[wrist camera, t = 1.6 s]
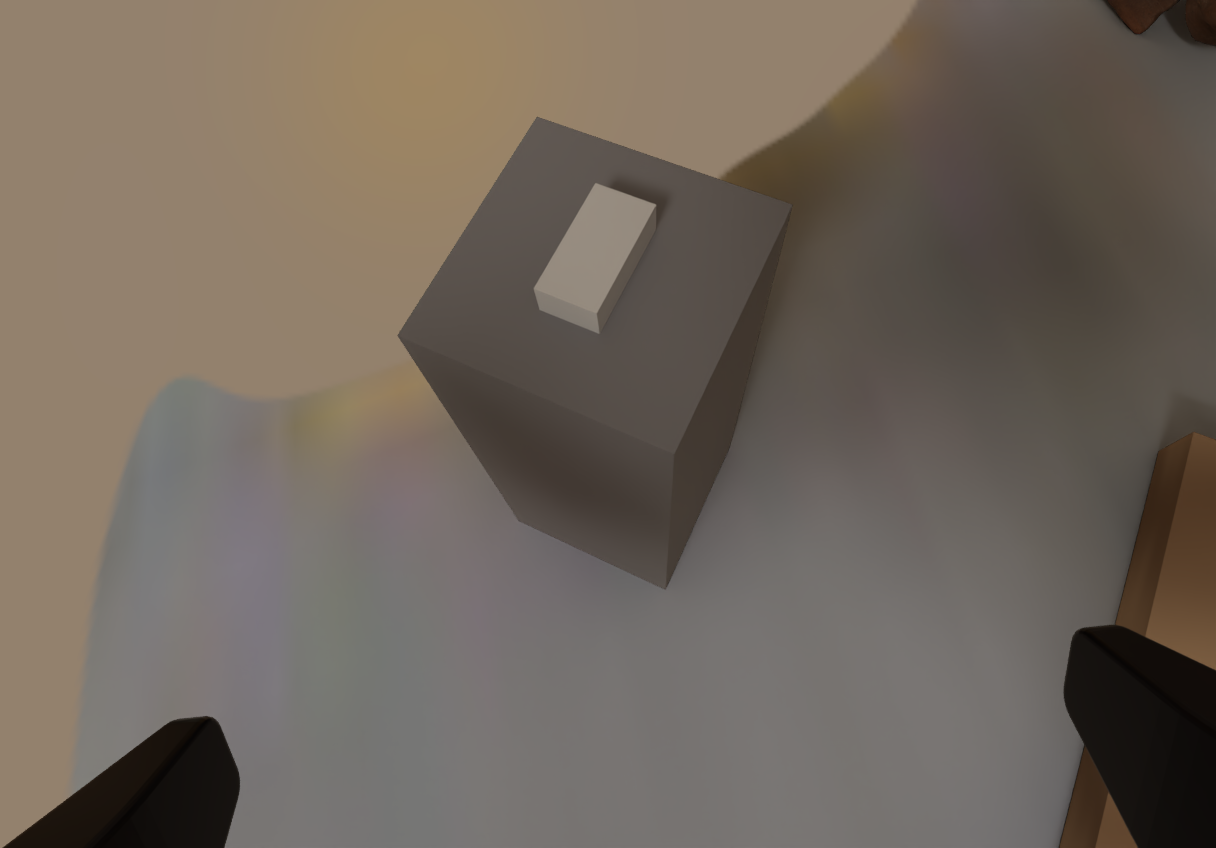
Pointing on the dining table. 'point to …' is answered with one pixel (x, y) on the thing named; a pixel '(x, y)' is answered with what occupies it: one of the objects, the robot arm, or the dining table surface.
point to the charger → (601, 339)
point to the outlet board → (1161, 604)
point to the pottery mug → (1140, 3)
